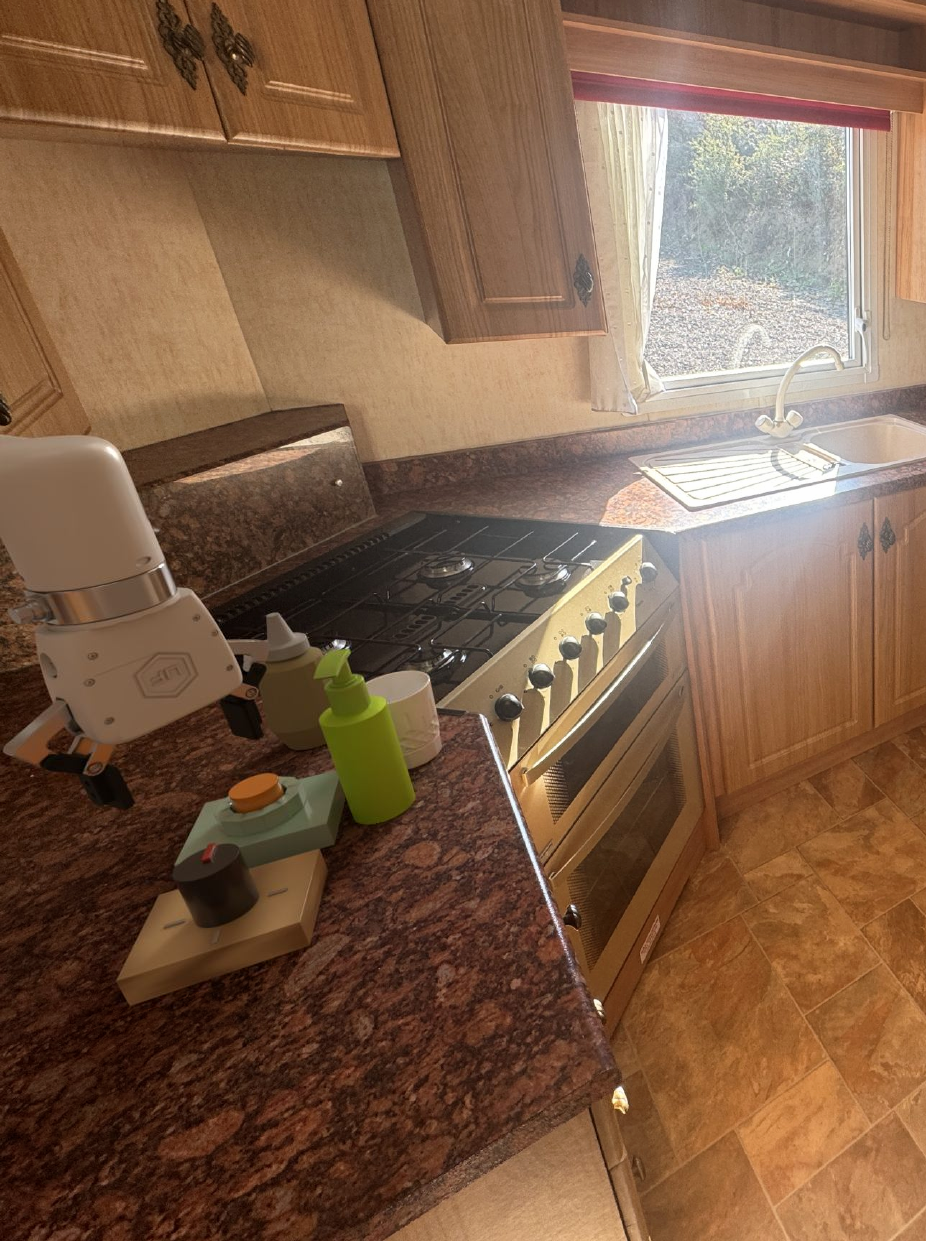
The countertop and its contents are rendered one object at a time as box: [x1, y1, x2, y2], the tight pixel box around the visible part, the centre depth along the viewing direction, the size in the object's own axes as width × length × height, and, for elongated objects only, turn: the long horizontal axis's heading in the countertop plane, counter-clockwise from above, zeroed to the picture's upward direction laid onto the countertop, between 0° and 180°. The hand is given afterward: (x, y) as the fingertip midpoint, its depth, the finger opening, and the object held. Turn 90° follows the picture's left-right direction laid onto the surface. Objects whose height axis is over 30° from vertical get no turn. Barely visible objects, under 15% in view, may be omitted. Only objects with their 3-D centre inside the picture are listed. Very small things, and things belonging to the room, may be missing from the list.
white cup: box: [365, 670, 443, 770], centre depth 89 cm, size 8×8×10 cm
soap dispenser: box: [313, 648, 416, 825], centre depth 78 cm, size 6×7×20 cm
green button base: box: [173, 769, 346, 869], centre depth 77 cm, size 12×10×5 cm
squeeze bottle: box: [258, 612, 332, 751], centre depth 91 cm, size 8×8×18 cm
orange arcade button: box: [227, 772, 284, 813], centre depth 76 cm, size 4×4×2 cm
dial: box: [171, 843, 259, 928], centre depth 65 cm, size 4×4×6 cm
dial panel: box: [115, 849, 329, 1007], centre depth 67 cm, size 12×10×3 cm
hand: (188, 768), depth 64 cm, fingers open, 9 cm apart
